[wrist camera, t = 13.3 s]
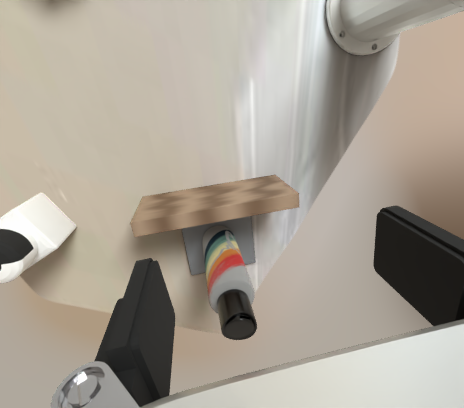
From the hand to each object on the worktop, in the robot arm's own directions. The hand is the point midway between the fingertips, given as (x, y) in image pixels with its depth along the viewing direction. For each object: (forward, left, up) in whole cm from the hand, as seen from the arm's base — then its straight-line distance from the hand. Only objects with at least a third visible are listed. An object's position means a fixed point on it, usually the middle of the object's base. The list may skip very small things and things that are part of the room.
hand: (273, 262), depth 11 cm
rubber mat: (+11, +12, -32) cm, 36 cm away
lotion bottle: (+11, +12, -32) cm, 35 cm away
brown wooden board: (+5, +5, -32) cm, 33 cm away
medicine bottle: (+26, -11, -32) cm, 43 cm away
